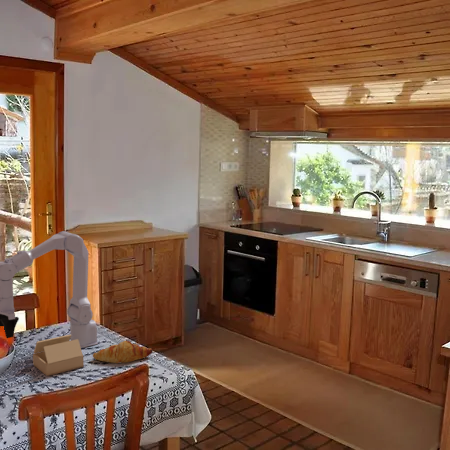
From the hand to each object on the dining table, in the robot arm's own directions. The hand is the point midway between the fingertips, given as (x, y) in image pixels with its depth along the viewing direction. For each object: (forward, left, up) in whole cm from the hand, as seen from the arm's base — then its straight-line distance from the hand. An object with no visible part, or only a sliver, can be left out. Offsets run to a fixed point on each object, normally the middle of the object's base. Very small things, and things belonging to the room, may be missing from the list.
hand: (6, 334), depth 190 cm
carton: (-13, +14, -10) cm, 22 cm away
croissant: (-34, +22, -10) cm, 41 cm away
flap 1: (-13, +10, -4) cm, 17 cm away
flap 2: (-13, +18, -4) cm, 23 cm away
